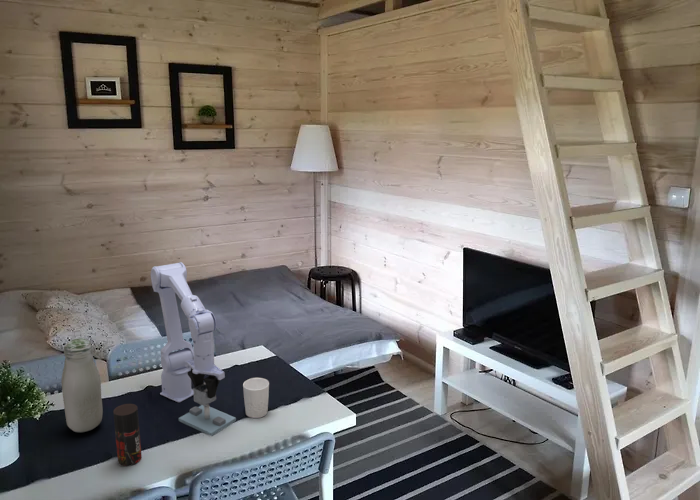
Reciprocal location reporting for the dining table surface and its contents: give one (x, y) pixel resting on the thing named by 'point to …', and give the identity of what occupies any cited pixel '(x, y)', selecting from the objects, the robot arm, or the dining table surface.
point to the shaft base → (207, 419)
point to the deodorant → (127, 434)
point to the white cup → (256, 397)
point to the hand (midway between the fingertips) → (205, 394)
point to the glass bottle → (81, 387)
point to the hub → (202, 395)
